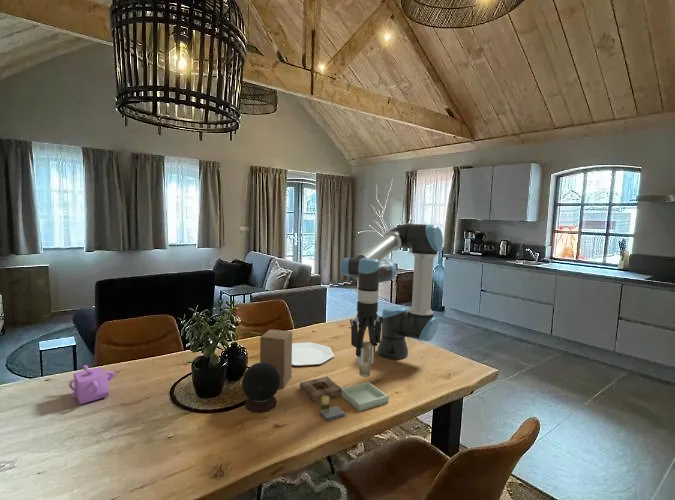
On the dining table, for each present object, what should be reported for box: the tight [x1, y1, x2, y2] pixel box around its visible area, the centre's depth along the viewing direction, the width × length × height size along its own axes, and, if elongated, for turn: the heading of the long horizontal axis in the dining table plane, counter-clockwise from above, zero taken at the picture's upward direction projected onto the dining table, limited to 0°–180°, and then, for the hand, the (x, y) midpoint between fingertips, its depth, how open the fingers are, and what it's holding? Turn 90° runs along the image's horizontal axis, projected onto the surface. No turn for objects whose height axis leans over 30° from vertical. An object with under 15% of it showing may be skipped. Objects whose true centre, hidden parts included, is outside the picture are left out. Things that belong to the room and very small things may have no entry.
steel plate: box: [319, 405, 346, 422], centre depth 123 cm, size 7×5×1 cm
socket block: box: [299, 376, 342, 404], centre depth 139 cm, size 12×12×2 cm
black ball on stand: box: [241, 362, 280, 414], centre depth 128 cm, size 13×13×15 cm
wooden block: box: [259, 329, 293, 389], centre depth 145 cm, size 10×10×20 cm
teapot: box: [68, 364, 115, 405], centre depth 131 cm, size 18×14×10 cm
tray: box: [340, 381, 390, 412], centre depth 134 cm, size 13×13×2 cm
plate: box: [292, 341, 335, 367], centre depth 174 cm, size 28×28×2 cm
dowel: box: [358, 340, 372, 378], centre depth 133 cm, size 4×4×12 cm
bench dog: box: [320, 395, 331, 410], centre depth 127 cm, size 3×3×4 cm
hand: (365, 363), depth 133 cm, fingers closed on dowel, 4 cm apart
